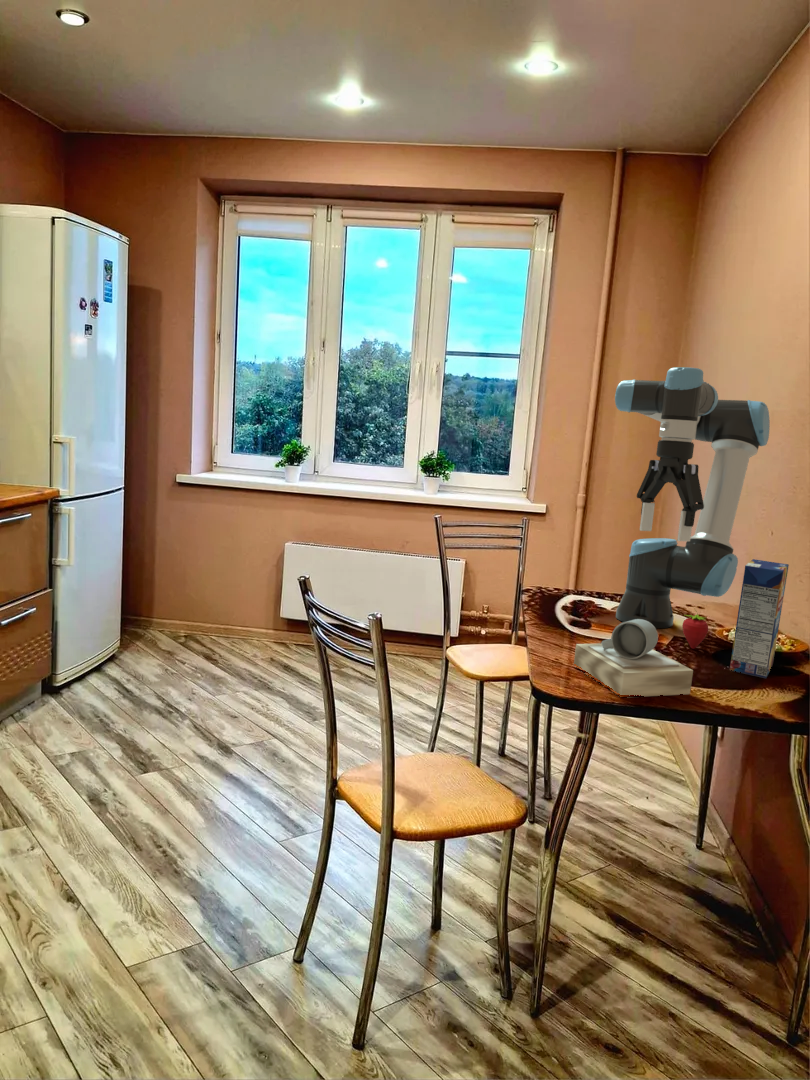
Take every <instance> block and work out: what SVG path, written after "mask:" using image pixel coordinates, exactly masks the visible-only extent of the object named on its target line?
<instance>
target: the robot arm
mask: <svg viewBox="0 0 810 1080" xmlns="http://www.w3.org/2000/svg"><path fill="white" fill-rule="evenodd" d="M718 394H719V393H718V391H717V390H716V388H715V387H714V386H712V385H711V384H710V383H708V382H707V381H704V371H703V369H701V368H697V367H688V366H686V367H685V366H683V367H681V366H680V367H679V366H678V367H676V366H675V367H671V368H669V369H668V370H667V372H666V377H665V380H643V379H642V380H641V379H639V380H638V379H636V378H635V379H628V380H627V379H625V380H622V381H620V382H619V383H618V384H617V386H616V390H615V394H614V403H615V407H616V409H617V410H618V411H620V412H625V413H626V412H627V413H638V414H641V415H644V416H646V417H648V418H651V419H653V420H655V421H657V422H659V423H660V425H659V432H658V433H659V434H658V437H659V438H661V439H660V440H658V441H657V447H656V457H658V458H659V459H658V460H657V459H650V460H649V463H648V469H647V471H646V473H645V476H644V478H643V480H642V481H641V485H640V486H639V489H638V490H637V491H638V492H637V493H636V498H637V499H640V501H641V508H640V509H641V512H640V522H639V523H640V524H639V531H640V532H652V531H653V530H652V529H653V522H654V514H655V504H656V501H655V499H656V498H657V496H658V495H659V493H660V492H661V491H662V489H663V487H664V486H665V484H668V483H670V484H672V485H673V486H675V489H676V492H677V493H678V496H679V498H680V501H681V504H682V509H681V510H680V517H679V524H678V525H679V526H678V531H677V540H676V539H674V538H665V537H661V538H660V537H657V538H656V537H653V538H639V539H635V540H634V541H633V542H632V543H631V547H630V552H629V555H628V558H629V559H628V567H627V575H626V576H627V577H626V582H625V591H624V594H623V595H622V598H621V600H620V602H619V605H618V606H617V608H616V613H615V618H616V619H617V620H619V621H621V623H623V622H627V621H631V620H635V619H643V620H646V621H648V622H650V623H651V624H652V625H653V626H654V627H655V628H656V629H665V628H671V627H673V626H674V613H673V606H672V603H671V602H672V601H671V589H673V590H678V591H682V592H688V593H693V594H698V595H701V596H704V597H705V596H709V597H716V598H719V597H722V596H724V595H725V594H726V593H727V592H728V591H729V589H730V587H731V586H732V584H733V583H734V579H735V577H736V573H737V567H738V565H739V564H738V563H739V560H738V559H739V558H738V557H737V555H736V554H735V553H734V547H733V546H732V544H731V543H730V539H731V534H732V530H733V527H734V522H735V518H736V515H737V510H738V506H739V501H740V498H741V494H742V490H743V486H744V482H745V478H746V475H747V474H746V473H747V470H748V466H749V462H750V459H751V458H752V457H753V456H755V455H757V453H758V450H759V447H765V446H766V445H767V444H768V442H769V438H770V437H769V436H770V412H769V408H768V405H767V404H766V403H765V402H763V401H758V400H749V399H747V400H740V399H719V395H718ZM693 440H695V441H700V442H705V443H706V442H707V443H711V445H710V446H711V448H712V450H713V451H714V457H713V461H712V465H711V467H710V473H709V477H708V481H707V484H706V489H705V493H704V496H703V495H702V490H701V489H702V488H701V483H700V478H699V468H700V467H699V465H698V464H694V463H689V460H692V459H693V457H694V456H693V455H694V448H695V443H694V442H693ZM699 510H700V512H699V515H698V516H699V517H698V520H697V524H696V528H695V532H694V535H692V531H693V530H692V529H693V527H694V524H695V518H696V512H698V511H699ZM678 542H686V543H685V546H680V545H678Z"/></svg>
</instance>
